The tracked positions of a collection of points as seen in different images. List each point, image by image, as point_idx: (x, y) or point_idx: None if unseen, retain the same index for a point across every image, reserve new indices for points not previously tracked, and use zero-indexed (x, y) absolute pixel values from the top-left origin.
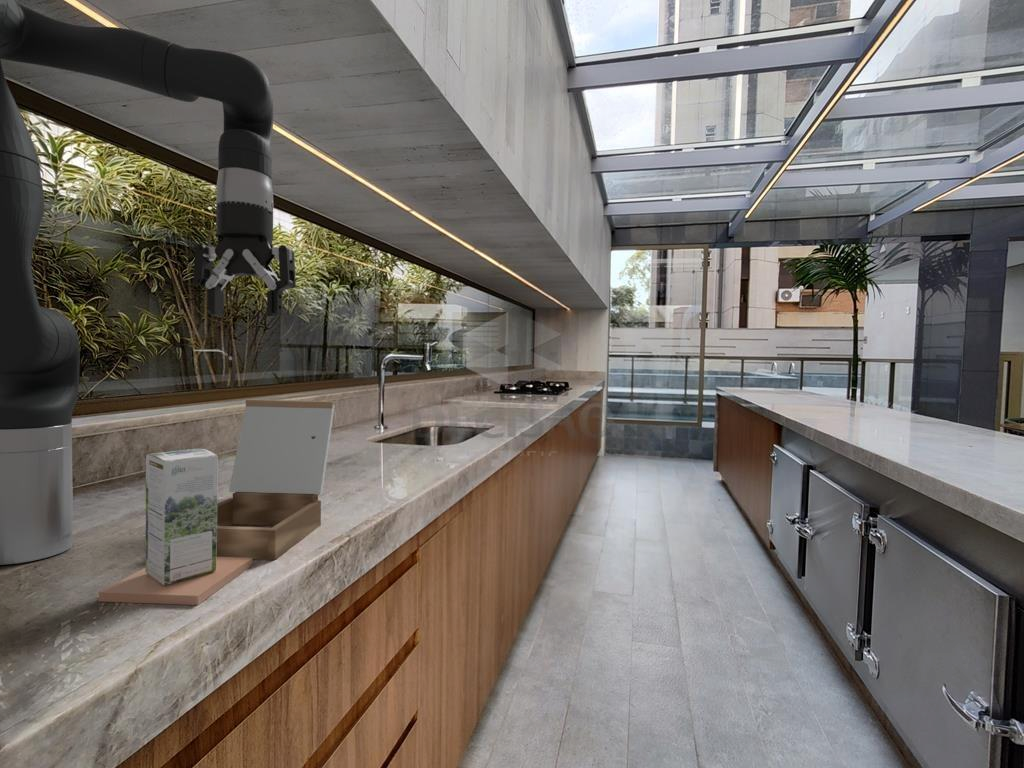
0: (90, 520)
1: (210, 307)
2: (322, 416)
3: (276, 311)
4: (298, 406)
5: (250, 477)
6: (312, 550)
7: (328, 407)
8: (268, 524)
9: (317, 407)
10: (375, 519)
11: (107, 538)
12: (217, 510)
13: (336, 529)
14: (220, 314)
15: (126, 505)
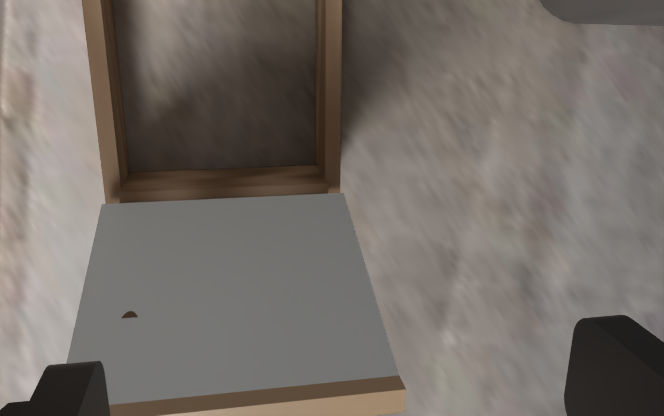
0: (606, 150)
1: (654, 337)
2: None
3: (1, 410)
4: (197, 398)
5: (300, 217)
6: (41, 18)
7: None
8: (234, 169)
9: (119, 405)
10: (4, 246)
11: (505, 50)
12: (324, 117)
13: (62, 162)
14: (573, 384)
15: (602, 252)
